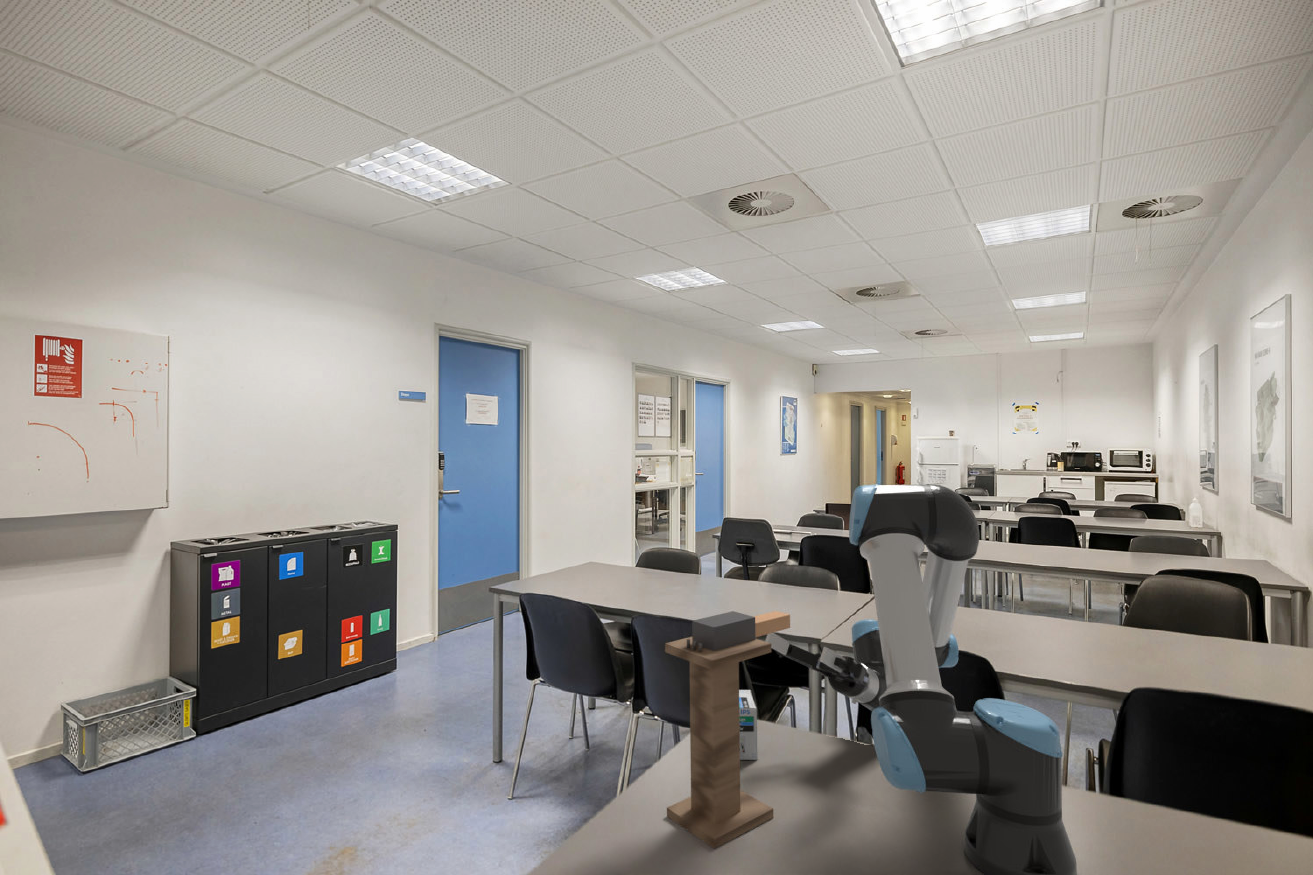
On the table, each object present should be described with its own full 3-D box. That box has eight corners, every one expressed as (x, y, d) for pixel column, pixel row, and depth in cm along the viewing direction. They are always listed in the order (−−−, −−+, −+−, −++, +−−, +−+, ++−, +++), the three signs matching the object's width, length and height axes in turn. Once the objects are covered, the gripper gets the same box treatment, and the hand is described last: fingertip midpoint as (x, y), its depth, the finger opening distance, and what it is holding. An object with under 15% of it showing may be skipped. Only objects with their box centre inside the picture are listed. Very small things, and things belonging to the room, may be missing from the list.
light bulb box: (758, 760, 136) (757, 707, 136) (725, 760, 136) (724, 707, 136) (752, 737, 146) (751, 688, 146) (721, 737, 146) (720, 688, 147)
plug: (794, 628, 124) (794, 607, 124) (714, 651, 111) (713, 627, 111) (772, 622, 128) (771, 602, 128) (692, 643, 116) (692, 620, 116)
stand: (773, 817, 115) (771, 635, 115) (714, 848, 106) (712, 651, 107) (724, 789, 124) (722, 621, 125) (666, 816, 116) (664, 635, 116)
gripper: (901, 715, 129) (843, 682, 117) (799, 680, 148) (741, 649, 137) (911, 677, 131) (855, 641, 120) (810, 647, 151) (753, 614, 139)
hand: (794, 645), depth 128 cm, fingers open, 13 cm apart
